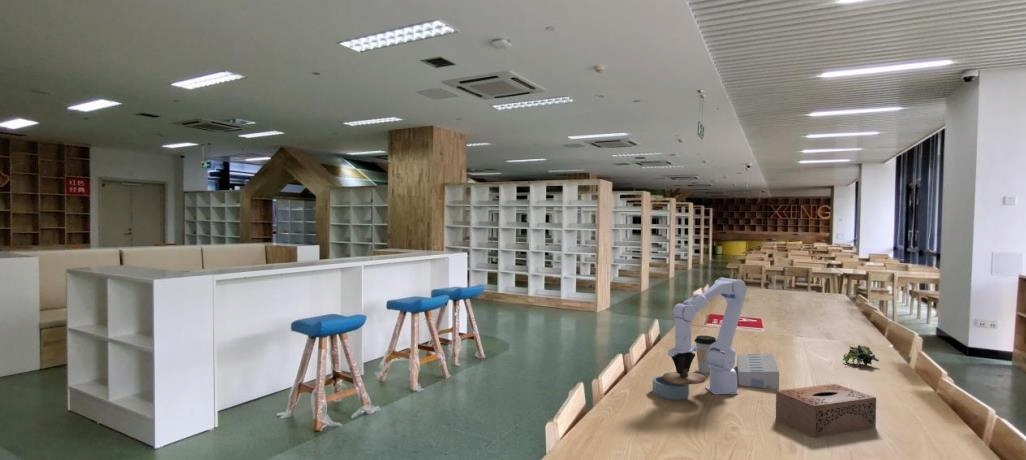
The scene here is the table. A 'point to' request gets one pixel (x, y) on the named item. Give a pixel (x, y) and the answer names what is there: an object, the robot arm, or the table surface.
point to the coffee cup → (703, 351)
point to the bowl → (670, 389)
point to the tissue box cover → (825, 410)
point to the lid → (684, 377)
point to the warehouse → (758, 371)
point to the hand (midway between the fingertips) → (682, 372)
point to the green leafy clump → (860, 355)
